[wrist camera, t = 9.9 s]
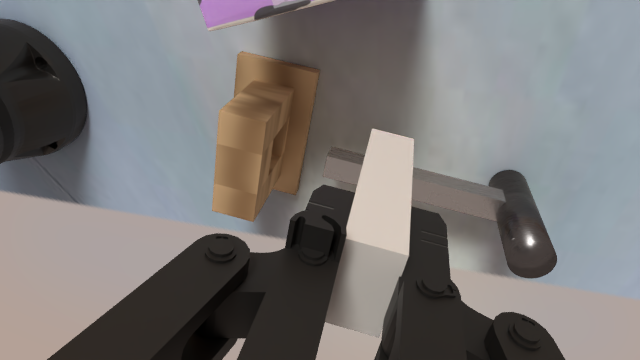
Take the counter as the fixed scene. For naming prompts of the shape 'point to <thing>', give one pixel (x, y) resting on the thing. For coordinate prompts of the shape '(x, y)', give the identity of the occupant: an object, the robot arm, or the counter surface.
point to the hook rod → (475, 208)
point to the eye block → (262, 134)
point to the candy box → (248, 10)
